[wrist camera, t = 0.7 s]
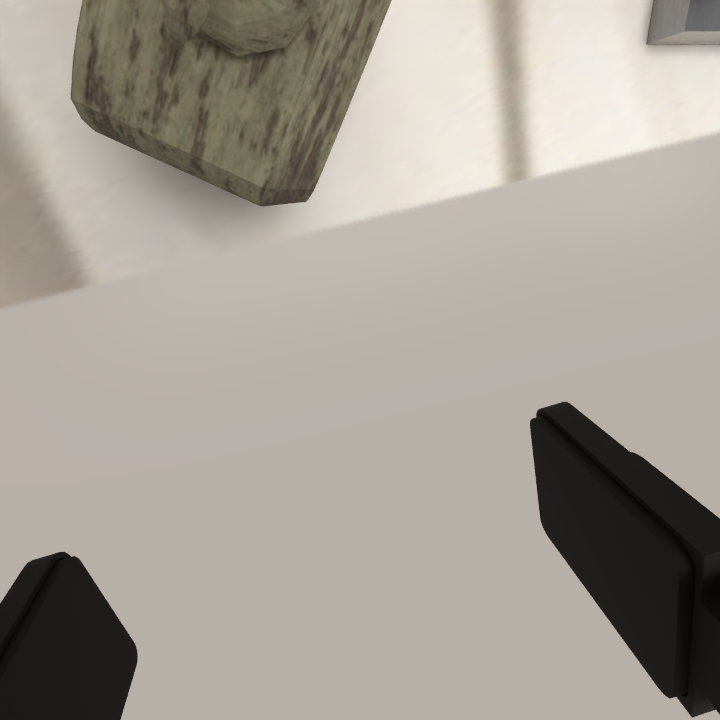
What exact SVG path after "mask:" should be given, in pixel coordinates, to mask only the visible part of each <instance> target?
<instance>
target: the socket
mask: <svg viewBox="0 0 720 720" xmlns="http://www.w3.org/2000/svg"><path fill="white" fill-rule="evenodd" d="M692 44H720V0H654V4H653V10H652V16H651V22H650V28H649V34H648V41H647V45H692Z"/></svg>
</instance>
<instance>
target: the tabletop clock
mask: <svg viewBox="0 0 720 720" xmlns="http://www.w3.org/2000/svg"><path fill="white" fill-rule="evenodd" d="M390 3H391V0H83V1H82V7H81V12H80V17H79V23H78V28H77V35H76V42H75V50H74V57H73V71H72V87H71V100H72V102H73V103H74V105H75V107H76V109H77V111H78V113H79V115H80V117H81V119H82V120H83V121H85V122H86V123H87V124H88V125H89V126H90V127H91V128H92V129H93V130H95V131H96V132H98V133H100V134H103V135H105V136H107V137H109V138H111V139H113V140H116V141H118V142H120V143H122V144H124V145H127V146H129V147H131V148H133V149H136V150H138V151H140V152H142V153H144V154H147V155H149V156H151V157H153V158H155V159H158V160H160V161H162V162H164V163H167V164H169V165H171V166H173V167H175V168H178V169H180V170H182V171H184V172H186V173H189V174H191V175H193V176H195V177H197V178H200V179H202V180H204V181H206V182H209V183H211V184H213V185H215V186H217V187H220V188H222V189H224V190H226V191H228V192H231V193H233V194H235V195H237V196H240V197H242V198H244V199H246V200H248V201H251V202H253V203H255V204H257V205H259V206H270V205H278V204H288V203H299V202H306V201H307V200H308V199H309V197H310V196H311V194H312V192H313V191H314V189H315V186H316V184H317V182H318V179H319V177H320V175H321V173H322V170H323V168H324V166H325V163H326V161H327V158H328V156H329V154H330V151H331V149H332V146H333V144H334V141H335V139H336V137H337V134H338V132H339V129H340V127H341V124H342V122H343V119H344V117H345V114H346V112H347V110H348V107H349V105H350V102H351V100H352V97H353V95H354V92H355V90H356V87H357V85H358V82H359V80H360V78H361V75H362V73H363V70H364V68H365V65H366V63H367V60H368V58H369V55H370V53H371V50H372V48H373V45H374V43H375V40H376V38H377V35H378V33H379V30H380V28H381V25H382V23H383V20H384V18H385V15H386V13H387V10H388V8H389V5H390Z"/></svg>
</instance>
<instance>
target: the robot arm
mask: <svg viewBox="0 0 720 720" xmlns="http://www.w3.org/2000/svg"><path fill="white" fill-rule="evenodd" d="M536 416H537V417H536V418H533V419H531V421H530V429H531V439H532V447H533V457H534V465H535V475H536V484H537V493H538V502H539V511H540V519H541V523H542V526H543V528H544V530H545V532H546V534H547V536H548V537H549V538H550V540H551V541H552V543H553V544H554V545H555V547H556V548H557V549H558V551H559V552H560V554H561V555H562V556H563V558H564V559H565V560H566V562H567V563H568V565H569V566H570V567H571V569H572V570H573V571H574V573H575V574H576V576H577V577H578V578H579V580H580V581H581V582H582V584H583V585H584V586H585V588H586V589H587V591H588V592H589V593H590V595H591V596H592V597H593V599H594V600H595V602H596V603H597V604H598V606H599V607H600V609H601V610H602V611H603V613H604V614H605V615H606V617H607V618H608V619H609V621H610V622H611V624H612V625H613V626H614V628H615V629H616V630H617V632H618V633H619V634H620V636H621V637H622V639H623V640H624V641H625V643H626V644H627V646H628V647H629V648H630V650H631V651H632V652H633V654H634V655H635V656H636V658H637V659H638V661H639V662H640V663H641V665H642V666H643V667H644V669H645V670H646V672H647V673H648V674H649V676H650V677H651V678H652V680H653V681H654V683H655V684H656V685H657V687H658V688H659V689H660V690H661V692H662V693H663V694H664V695H665V696H667V697H668V698H673V697H677V698H678V699H679V700H680V702H681V703H682V705H683V706H684V707H685V709H686V710H687V711H688V712H689V714H690V715H691V717H695V716H698V715H701V714H704V713H707V712H710V711H713V710H717V711H718V713H719V714H720V518H718V517H717V516H716V515H715V514H713V513H712V512H711V511H710V510H708V509H707V508H706V507H704V506H703V505H702V504H700V503H699V502H698V501H697V500H696V499H694V498H693V497H692V496H691V495H689V494H688V493H687V492H686V491H684V490H683V489H682V488H680V487H679V486H678V485H677V484H675V483H674V482H673V481H672V480H670V479H669V478H668V477H666V476H665V475H664V474H663V473H662V472H660V471H659V470H658V469H656V468H655V467H654V466H652V465H651V464H650V463H649V462H648V461H646V460H645V459H644V458H643V457H641V456H639V455H638V454H635V453H633V452H629V451H628V450H627V449H626V448H624V447H623V446H622V445H621V444H619V443H618V442H617V441H616V440H614V439H613V438H612V437H611V436H610V435H608V434H607V433H606V432H605V431H603V430H602V429H601V428H600V427H598V426H597V425H596V424H595V423H593V422H592V421H591V420H590V419H588V418H587V417H586V416H585V415H583V414H582V413H581V412H580V411H578V410H577V409H576V408H575V407H574V406H572V405H571V404H570V403H568V402H562V403H558V404H555V405H551V406H548V407H545V408H541V409H539V410H538V411H537V414H536ZM136 665H137V649H136V645H135V643H134V642H133V640H132V639H131V637H130V636H129V634H128V633H127V631H126V630H125V628H124V626H123V625H122V624H121V622H120V621H119V619H118V617H117V616H116V614H115V613H114V611H113V610H112V608H111V606H110V605H109V603H108V602H107V600H106V599H105V597H104V596H103V594H102V593H101V591H100V590H99V588H98V587H97V585H96V584H95V582H94V581H93V579H92V577H91V576H90V575H89V573H88V571H87V570H86V568H85V567H84V565H83V564H82V562H81V561H80V560H79V559H78V558H77V557H75V556H73V557H71V556H70V555H69V554H67V553H65V552H59V553H55V554H52V555H49V556H45V557H42V558H39V559H35V560H32V561H31V562H28V563H27V565H26V566H25V567H24V568H23V570H22V571H21V573H20V574H19V576H18V577H17V579H16V580H15V582H14V583H13V585H12V586H11V588H10V589H9V591H8V593H7V594H6V596H5V597H4V599H3V600H2V602H1V603H0V720H120V719H121V716H122V713H123V709H124V706H125V702H126V699H127V696H128V692H129V689H130V686H131V682H132V679H133V675H134V672H135V669H136Z"/></svg>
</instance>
